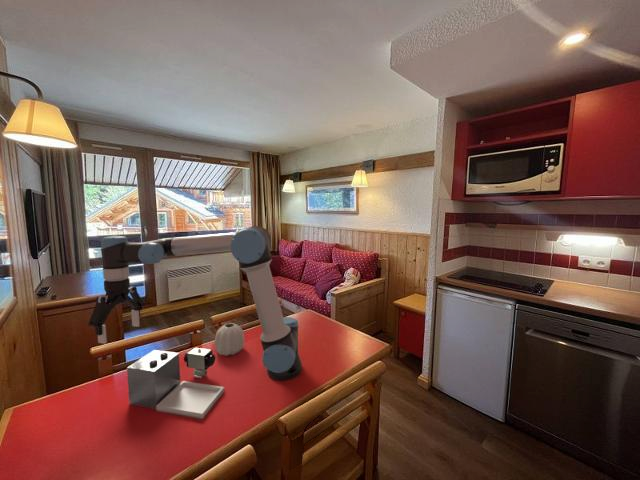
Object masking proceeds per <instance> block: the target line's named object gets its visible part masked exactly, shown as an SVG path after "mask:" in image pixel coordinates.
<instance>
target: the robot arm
mask: <svg viewBox="0 0 640 480" xmlns="http://www.w3.org/2000/svg"><path fill="white" fill-rule="evenodd" d="M100 242H101V248H100V252H101V259H102V274H103V280H104V281H103V290H104V291H105V295H102V296H97V297H96V299H95V305H94V308H93V311H92V313H91V316H90V318H89V321H88V324H87V326H88V327H94V330H95V335H96V336H97V343H98V344H104V345H105V344H107V343H108V342H107V327H106V324H104V323H105V322H106V320H107V319H108V317H109V315H110V313H111V312H112V310H113V308H116V306H118V305H120V304H122V303H126V305H128V306H129V307H130V308H131V326H132V327H137V328H138V327H140V326H141V325H140V324H141V323H140V317H141V311H142V310H143V307H145V303H144V301H143V299H142V297H141V296H140V294H139V293H138V289H137V287H136V286H132V285H131V282H130V265H129V264H143V265H144V264H145V265H146V264H147V265H151V264H159V263H160V262H161V261H162V260H163V258H167V257H168V258H170V257H177V256H188V255H189V256H190V255H200V254H201V255H202V254H213V253H222V252H224V253H226V252H230V253H231V255H232V256H233V258H234V259H235V260H237V262H238V265H239V268H240V270H242V271H244V272H245V273H246V277H247V280H248V284H249V288H250V291H251V294H252V298H253V302H254V306H255V309H256V314H257V316H258V320H259V323H260V327H261V330H262V333H261V334H260V336H259V337H260V343H261V347H262V350H263V353H262V355H261V356H262V357H261V358H262V361H261V362H262V364H263V366H264V368H265V369H266V374H267V375H268V376H269V377H270V378H271V379H273V380H276V381H289V380H292V379H295V378H297V377H298V376H299V375H301V373H302V368H303V363H302V361H301V357H300V354H299V321H298V320H297V319H296V318H294V317H290V316H289V317H288V316H285V317H284V315H283V312H282V308H281V304H280V301H279V297H278V293H277V289H276V286H275V281H274V278H273V274H272V271H271V267H270V264H271V262H272V261H273V258H272V254H271V251H270V247H271V244H272V237H271V234H270V233H269V231H268V230H267V229H266V228H264V227H263V226H259V225H253V226H249V227H245V228H238V229H237V230H236V231H235V232H223V233H212V234H211V233H210V234H201V235H190V236H189V235H188V236H180V237H179V236H177V237H176V236H175V237H162V238H159V239H156V240H155V239H154V240H149V241H143V242H131V241H130V242H129V241H128V237H126V236H123V235H112V236H111V235H110V236H105V237H104V236H103V238H102V239H101V240H100Z"/></svg>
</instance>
